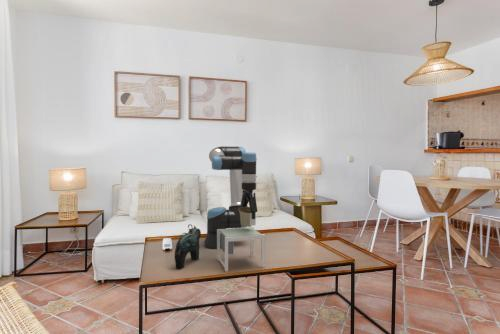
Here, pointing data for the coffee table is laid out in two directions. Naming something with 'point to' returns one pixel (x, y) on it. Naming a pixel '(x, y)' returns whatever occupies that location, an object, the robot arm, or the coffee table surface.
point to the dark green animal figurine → (187, 246)
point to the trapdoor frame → (240, 238)
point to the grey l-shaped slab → (232, 234)
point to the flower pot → (245, 216)
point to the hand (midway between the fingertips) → (248, 222)
